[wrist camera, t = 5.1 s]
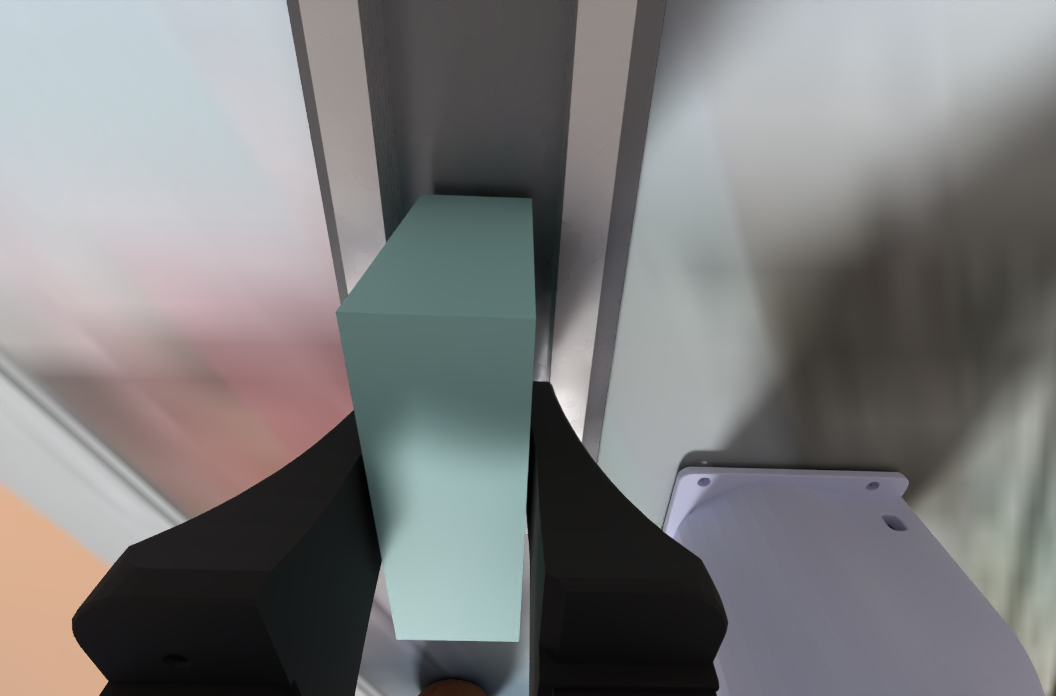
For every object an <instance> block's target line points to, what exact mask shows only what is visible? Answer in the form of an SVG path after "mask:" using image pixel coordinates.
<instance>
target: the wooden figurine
mask: <svg viewBox="0 0 1056 696" xmlns="http://www.w3.org/2000/svg"><path fill="white" fill-rule="evenodd" d="M418 696H488V695H487V694H486V693H485V692H484V691H483V690H482V689H481V688H480V687H478V686H477V685H475V684H474V683H470V682H466V681H462V680H454V679H449V680H442V681H438V682H436V683H433V684H431V685H429V686H428V687H427V688H426V689H425V690H423V691H422V692H421V693H420V694H419V695H418Z"/></svg>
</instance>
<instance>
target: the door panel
mask: <svg viewBox="0 0 1056 696" xmlns="http://www.w3.org/2000/svg"><path fill="white" fill-rule="evenodd" d="M336 315H337V321H338V326H339V331H340V337H341V342H342V348H343V353H344V358H345V364H346V369H347V375H348V380H349V385H350V391H351V396H352V402H353V407H354V412H355V418H356V423H357V428H358V434H359V439H360V445H361V450H362V455H363V461H364V466H365V472H366V477H367V482H368V488H369V493H370V499H371V504H372V509H373V515H374V520H375V526H376V531H377V536H378V542H379V547H380V553H381V558H382V563H383V569H384V574H385V580H386V585H387V590H388V596H389V601H390V607H391V612H392V617H393V623H394V628H395V634H396V639H397V640H447V641H501V642H519V632H520V613H521V594H522V575H523V556H524V537H525V518H526V499H527V480H528V461H529V441H530V422H531V403H532V384H533V365H534V346H535V327H536V305H535V276H534V246H533V217H532V198H508V197H482V196H455V195H429V194H421V196H420V197H419V198H418V200H417V201H416V203H415V204H414V205H413V207H412V208H411V209H410V211H409V212H408V214H407V215H406V216H405V218H404V219H403V220H402V222H401V223H400V225H399V226H398V227H397V229H396V230H395V231H394V233H393V234H392V236H391V237H390V238H389V240H388V241H387V242H386V244H385V245H384V247H383V248H382V249H381V251H380V252H379V253H378V255H377V256H376V258H375V259H374V260H373V262H372V263H371V264H370V266H369V267H368V269H367V270H366V271H365V273H364V274H363V275H362V277H361V278H360V280H359V281H358V282H357V284H356V285H355V286H354V288H353V289H352V291H351V292H350V293H349V295H348V296H347V297H346V299H345V300H344V302H343V303H342V304H341V306H340V307H339V308H338V310H337V311H336Z"/></svg>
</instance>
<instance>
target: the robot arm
mask: <svg viewBox="0 0 1056 696" xmlns="http://www.w3.org/2000/svg"><path fill="white" fill-rule="evenodd" d="M705 477H706V478H705ZM701 478H704V479H701ZM699 479H700V480H699ZM908 485H909V482H908V480H907V478H906V477H905V476H904V475H903V474H901V473H899V472H874V471H836V470H798V469H760V468H722V467H686V468H684V469H682V470H681V471H680V472H679V473H678V475H677V478H676V482H675V486H674V489H673V493H672V497H671V500H670V504H669V508H668V511H667V515H666V519H665V522H664V526H663V530H661V529H660V528H659V527H658V526H656V525H655V524H654V523H653V522H652V521H650V520H649V519H648V518H647V517H646V516H645V515H644V514H643V513H642V512H641V511H640V510H639V509H638V508H636V507H635V506H634V505H633V504H632V503H631V502H630V501H629V500H628V499H627V498H626V497H625V496H624V495H623V494H622V493H621V492H620V491H619V489H618V488H617V487H616V486H615V485H614V484H613V483H612V482H611V481H610V479H609V478H608V477H607V476H606V475H605V473H604V472H603V471H602V470H601V469H600V467H599V466H598V465H597V463H596V462H595V461H594V459H593V458H592V457H591V455H590V454H589V453H588V451H587V450H586V448H585V447H584V445H583V444H582V442H581V441H580V439H579V438H578V436H577V434H576V433H575V431H574V429H573V428H572V426H571V424H570V423H569V421H568V419H567V417H566V415H565V414H564V412H563V410H562V408H561V406H560V404H559V401H558V399H557V397H556V394H555V392H554V389H553V386H552V384H551V383H550V382H548V381H533V384H532V403H531V422H530V441H529V461H528V480H527V499H526V517H527V528H528V539H529V552H530V671H529V696H1045V694H1044V691H1043V689H1042V686H1041V683H1040V680H1039V678H1038V675H1037V673H1036V670H1035V668H1034V666H1033V664H1032V662H1031V660H1030V658H1029V656H1028V654H1027V652H1026V651H1025V649H1024V647H1023V646H1022V644H1021V643H1020V641H1019V639H1018V638H1017V636H1016V635H1015V634H1014V632H1013V631H1012V630H1011V628H1010V627H1009V626H1008V624H1007V623H1006V622H1005V621H1004V619H1003V618H1002V617H1001V616H1000V615H999V613H998V612H997V611H996V610H995V609H994V607H993V606H992V605H991V604H990V603H989V601H988V600H987V599H986V598H985V597H984V595H983V594H982V593H981V592H980V591H979V589H978V588H977V587H976V586H975V585H974V583H973V582H972V581H971V580H970V579H969V577H968V576H967V575H966V574H965V573H964V571H963V570H962V569H961V568H960V567H959V565H958V564H957V563H956V562H955V561H954V559H953V558H952V557H951V556H950V555H949V553H948V552H947V551H946V550H945V549H944V547H943V546H942V545H941V544H940V543H939V541H938V540H937V539H936V538H935V537H934V535H933V534H932V533H931V532H930V531H929V529H928V528H927V527H926V526H925V525H924V523H923V522H922V521H921V520H920V519H919V517H918V516H917V515H916V514H915V513H914V511H913V510H912V509H911V508H910V507H909V505H908V504H907V503H906V502H905V501H904V499H903V498H902V495H903V494H904V492H905V491H906V489H907V487H908ZM381 562H382V558H381V553H380V547H379V542H378V536H377V531H376V526H375V520H374V515H373V509H372V504H371V499H370V493H369V488H368V482H367V477H366V472H365V466H364V461H363V455H362V450H361V445H360V439H359V434H358V428H357V423H356V418H355V412H354V410H353V411H352V412H351V413H350V414H349V415H348V416H347V417H346V418H345V419H344V420H342V421H341V422H340V423H339V424H338V425H337V426H336V427H335V428H334V429H332V430H331V431H330V432H329V433H328V434H327V435H325V436H324V437H323V438H322V439H321V440H319V441H318V442H317V443H316V444H315V445H313V446H312V447H311V448H310V449H308V450H307V451H306V452H304V453H303V454H302V455H300V456H299V457H297V458H296V459H295V460H293V461H292V462H290V463H289V464H287V465H286V466H285V467H283V468H282V469H280V470H279V471H277V472H276V473H274V474H272V475H271V476H269V477H268V478H266V479H264V480H263V481H261V482H259V483H258V484H256V485H254V486H253V487H251V488H249V489H248V490H246V491H244V492H243V493H241V494H239V495H238V496H236V497H234V498H232V499H230V500H228V501H226V502H225V503H223V504H221V505H219V506H217V507H215V508H213V509H211V510H209V511H207V512H205V513H203V514H201V515H199V516H197V517H195V518H193V519H191V520H189V521H187V522H184V523H182V524H180V525H178V526H175V527H173V528H171V529H169V530H166V531H164V532H162V533H159V534H157V535H155V536H152V537H150V538H148V539H145V540H143V541H141V542H138V543H136V544H133V545H131V546H129V547H128V548H127V549H126V550H125V552H124V553H123V554H122V555H121V556H120V557H119V559H118V560H117V561H116V562H115V563H114V565H113V566H112V567H111V568H110V570H109V571H108V572H107V574H106V575H105V576H104V577H103V578H102V580H101V581H100V582H99V584H98V585H97V586H96V587H95V589H94V590H93V591H92V592H91V594H90V595H89V596H88V597H87V599H86V600H85V601H84V603H83V604H82V605H81V606H80V607H79V609H78V610H77V612H76V613H75V615H74V617H73V618H72V631H73V634H74V637H75V638H76V640H77V642H78V644H79V645H80V647H81V648H82V649H83V650H84V652H85V653H86V654H87V655H88V657H89V658H90V659H91V660H92V661H93V663H94V664H95V665H96V666H97V667H98V669H99V670H100V671H101V672H102V674H103V675H104V676H105V677H106V679H107V680H108V681H109V682H108V683H107V685H106V686H105V688H104V689H103V691H102V692H101V694H100V695H99V696H355V690H356V684H357V679H358V674H359V668H360V663H361V658H362V653H363V647H364V642H365V637H366V632H367V627H368V622H369V617H370V612H371V608H372V603H373V598H374V593H375V589H376V584H377V580H378V575H379V571H380V566H381Z"/></svg>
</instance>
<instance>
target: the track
mask: <svg viewBox="0 0 1056 696" xmlns="http://www.w3.org/2000/svg"><path fill="white" fill-rule="evenodd" d="M287 6H288V11H289V17H290V23H291V28H292V34H293V39H294V45H295V51H296V56H297V62H298V67H299V73H300V79H301V84H302V90H303V95H304V101H305V107H306V112H307V118H308V123H309V129H310V134H311V140H312V146H313V151H314V157H315V162H316V168H317V174H318V179H319V185H320V190H321V196H322V202H323V207H324V213H325V218H326V224H327V230H328V235H329V241H330V246H331V252H332V257H333V263H334V269H335V274H336V280H337V285H338V291H339V297H340V302H341V304H342V303H343V302H344V300H345V299H346V297H347V296H348V295H349V293H350V292H351V291H352V289H353V288H354V286H355V285H356V284H357V282H358V281H359V280H360V278H361V277H362V275H363V274H364V273H365V271H366V270H367V269H368V267H369V266H370V264H371V263H372V262H373V260H374V259H375V258H376V256H377V255H378V253H379V252H380V251H381V249H382V248H383V247H384V245H385V244H386V242H387V241H388V240H389V238H390V237H391V236H392V234H393V233H394V231H395V230H396V229H397V227H398V226H399V225H400V223H401V222H402V220H403V219H404V218H405V216H406V215H407V214H408V212H409V211H410V209H411V208H412V207H413V205H414V204H415V203H416V201H417V200H418V198H419V197H420V196H421V194H429V195H455V196H482V197H508V198H532V217H533V246H534V276H535V305H536V327H535V346H534V365H533V381H548V382H550V383H551V384H552V386H553V389H554V392H555V394H556V397H557V399H558V401H559V404H560V406H561V408H562V410H563V412H564V414H565V415H566V417H567V419H568V421H569V423H570V424H571V426H572V428H573V429H574V431H575V433H576V434H577V436H578V438H579V439H580V441H581V442H582V444H583V445H584V447H585V448H586V450H587V451H588V453H589V454H590V455H591V457H592V458H593V459H594V461H595V462H596V463H597V457H598V450H599V443H600V437H601V430H602V423H603V417H604V410H605V404H606V397H607V390H608V384H609V377H610V370H611V364H612V357H613V351H614V344H615V337H616V331H617V324H618V317H619V311H620V304H621V298H622V291H623V284H624V278H625V271H626V264H627V258H628V251H629V245H630V238H631V231H632V225H633V218H634V211H635V205H636V198H637V192H638V185H639V178H640V172H641V165H642V159H643V152H644V145H645V139H646V132H647V125H648V119H649V112H650V106H651V99H652V92H653V86H654V79H655V72H656V66H657V59H658V53H659V46H660V39H661V33H662V26H663V19H664V13H665V6H666V0H287ZM525 534H528V528H527V517H526V518H525Z"/></svg>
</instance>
